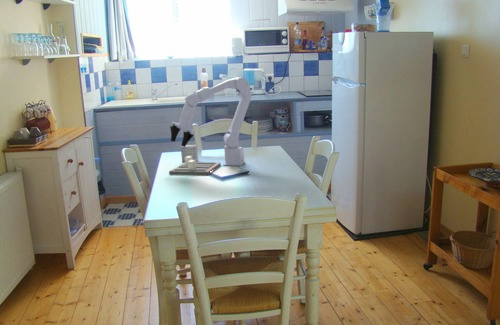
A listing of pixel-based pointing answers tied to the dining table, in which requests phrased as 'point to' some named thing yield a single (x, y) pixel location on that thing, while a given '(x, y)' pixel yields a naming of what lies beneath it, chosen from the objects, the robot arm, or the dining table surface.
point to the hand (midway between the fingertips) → (177, 143)
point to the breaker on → (188, 159)
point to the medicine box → (189, 152)
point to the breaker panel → (200, 169)
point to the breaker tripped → (192, 164)
